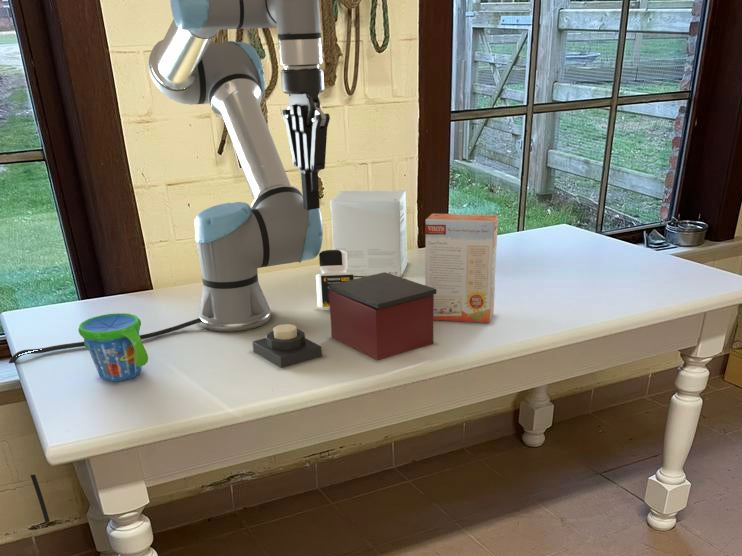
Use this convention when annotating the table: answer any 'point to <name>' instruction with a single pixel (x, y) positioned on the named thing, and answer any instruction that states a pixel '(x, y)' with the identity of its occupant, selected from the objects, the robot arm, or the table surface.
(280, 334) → the button
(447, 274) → the cracker box
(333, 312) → the dark red box
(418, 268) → the table surface
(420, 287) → the dark grey lid
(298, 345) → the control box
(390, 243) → the supplement box
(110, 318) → the snack cup
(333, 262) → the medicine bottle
